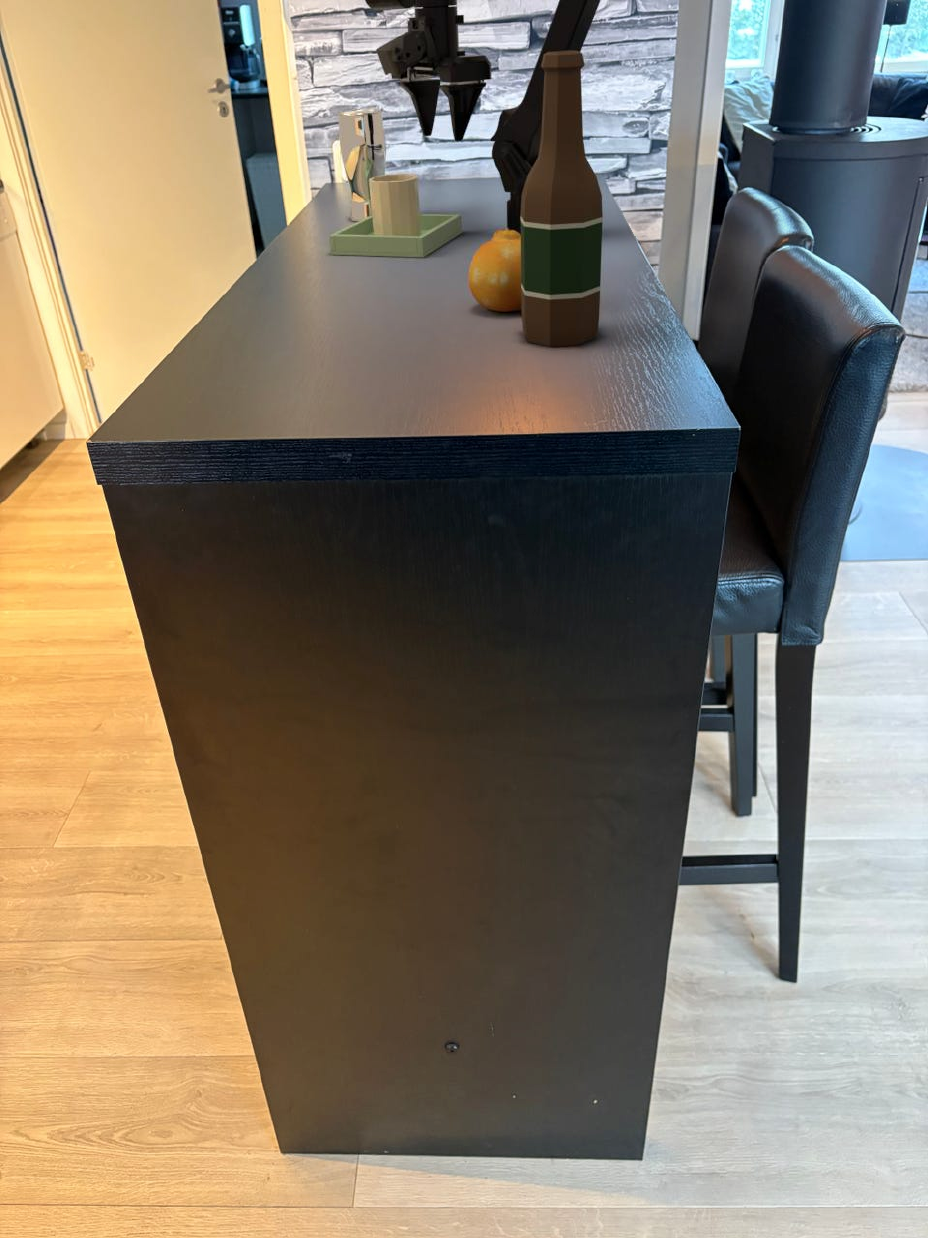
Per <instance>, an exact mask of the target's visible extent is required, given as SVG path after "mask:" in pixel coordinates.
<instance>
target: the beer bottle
mask: <svg viewBox="0 0 928 1238" xmlns="http://www.w3.org/2000/svg"><path fill="white" fill-rule="evenodd" d="M585 66H586V64H585V60H584V56H583V52H582V51H580V52H579V51H554V52H548V53H546V54H544V56H543V60H542V64H541V67H542V68H543V69H544V70H545V75H544V94H543V113H542V131H541V142H540V149H539V155H538V158H537V160H536V162H535V164H534V165H533V167H532V169H531V171H530V172H529V174H528V176H527V179H526V182H525V186H524V189H523V192H522V199H521V305H522V310H521V322H522V324H521V325H522V331H523V334H524V337H525V339H526V341H527V342H528V343H530V344H536V345H540V346H545V347H550V348H552V347H566V346H567V347H568V346H580V345H582V344H584V343H586V342H589V341H591V340H593V339H596V338H597V336H598V334H599V323H600V307H601V306H600V305H601V280H602V277H601V276H602V253H603V252H602V250H603V221H604V220H603V219H604V217H603V216H604V215H603V213H604V212H603V195H602V191H601V187H600V184H599V181H598V177H597V175H596V173H595V171H594V169H593V168H592V166H591V164H590V162H589V161H588V158H587V157H586V151H585V150H586V149H585V142H584V125H583V122H584V121H583V98H582V97H583V96H582V69H583V68H584V67H585Z"/></svg>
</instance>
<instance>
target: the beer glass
mask: <svg viewBox="0 0 928 1238" xmlns="http://www.w3.org/2000/svg"><path fill="white" fill-rule="evenodd" d="M337 116H338V137H339V138H338V139H339V147H340V155H341V160H342V164H343V167H344V171H345V175H346V179H347V183H348V186H349V193H350V220H351V221H353V222H355V223H356V222H358V221H361V220H363V219H365V218H367V217H369V216H371V215H372V207H371V197H370V186H369V179H370V178H372V177H376V176H381V175H386V163H387V162H386V161H387V144H386V143H387V142H386V132H385V126H384V119H383V113H382V110H381V109H373V108H372V109H370V108H369V109H352V110H345V111H339V112H338V113H337Z"/></svg>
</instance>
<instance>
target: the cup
mask: <svg viewBox="0 0 928 1238" xmlns="http://www.w3.org/2000/svg"><path fill="white" fill-rule="evenodd" d="M418 178H419V177H418V175H417V174H411V173H391V174H390V173H389V174H385V175H381V176H376V177H372V178H370V179H369V186H370V197H371V207H372V218H373V229H374V235H381V236H418V237H419V236H420V235H421V221H420V214H421V208H420V195H419V191H420V190H419V179H418Z"/></svg>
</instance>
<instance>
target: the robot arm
mask: <svg viewBox="0 0 928 1238" xmlns="http://www.w3.org/2000/svg"><path fill="white" fill-rule="evenodd" d="M601 1H602V0H558V3H557V6H556V8H555V11H554V14H553V17H552V19H551V22H550V25H549V28H548V30H547V33H546V35H545V38H544V41H543V44H542V47H541V48H540V52H539V55H538V57H537V60H536V62H535V66H534V69H533V71H532V74H531V76H530V80H529V82H528V85H527V88H526V90H525V93H524V96H523V98H522V101H521V102H520V104H518V106H516V107H511V108H506V109H502V111H501V113H500V115H499V117H498V123H497V127H496V129H495V132H494V133H493V135H492V136H491V138H490V139H489V140H490V142H493V143H492V148H491V159H492V160H493V163H494V167H495V169H496V170H497V172H498V174H499V178H500V181H501V184H502V188H503V190H504V192H505V193H509V199H508V200H507V201H506V228H508V229H509V230H514V231H516V232H518V233H519V234H520V235H521V199H522V192H523V189H524V186H525V182H526V179H527V176H528V174H529V172H530V171H531V169H532V167H533V165H534V164H535V162H536V160H537V158H538V155H539V149H540V142H541V131H542V113H543V94H544V75H545V70H544V69H543V68H542V67H541V64H542V60H543V56H544V54H546V53H548V52H554V51H579V52H582V49H583V46H584V44H585V41H586V38H587V36H588V34H589V31H590V29H591V26H592V23H593V20H594V18H595V16H596V13H597V10H598V8H599V6H600V4H601ZM364 2H365V3H366V5H367V6H368V7H369V8H370V9H371V10H373V11H389V10H404V9H405V10H406V9H407V10H408V9H411V8H413V7H414V17H409V18H408V20H407V31H406V32H404V33H403V34H400V35H398V36H396V37H395V38H393V39H391V40H389V41H387V42H385V43H384V44H383V45H380V46H379V47H377V48H376V49H375V52H376V54H377V57H378V59H379V63H380V65H381V67H382V70H383V73H384V75H385V76H388V75H391V79H392V80H400V81H396V82H395V83H396V85H397V86H398V87H401V89H402V90H404V91H405V93H407V94H408V95H409V97H410V99H411V102H412V105H413V107H414V110H415V114H416V116H417V120H418V121H419V126H420V129H421V132H422V135H423V136H424V137H431V136H432V134H433V130H434V126H435V120H436V119H435V118H436V113H437V107H438V101H439V95H440V91H442V93H443V94H444V96H446V98H447V100H448V105H449V106H448V107H449V114H450V122H451V129H452V135H453V139H454V141H455V142H462V141H463V140H464V137H465V135H466V132H467V129H468V126H469V123H470V121H471V118H472V116H473V113H474V110H475V108H476V105H477V103H478V101H479V98H480V96H481V93H482V91H483V89H484V88H486V87H487V82H486V81H488V80H489V81H490V80H492V62H491V61H490V60H489V58H488V57H487V56H486V55H485V54H484V55H483V54H469V55H466V50H460V42H459V41H460V40H459V25H464V24H465V15H464V14H458V0H364ZM431 77H439V78H431ZM442 83H446V84H442Z"/></svg>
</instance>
